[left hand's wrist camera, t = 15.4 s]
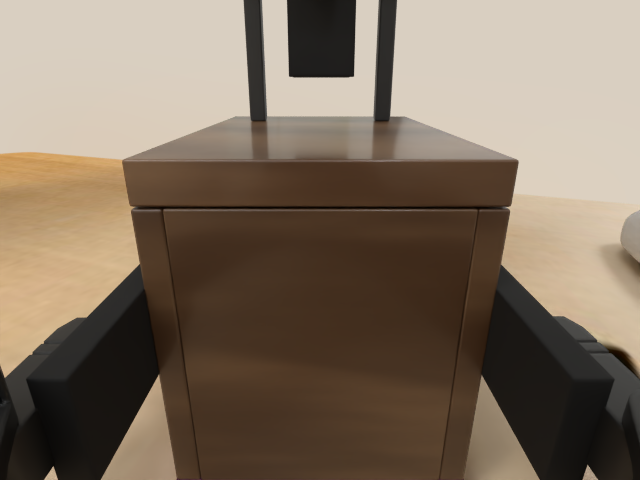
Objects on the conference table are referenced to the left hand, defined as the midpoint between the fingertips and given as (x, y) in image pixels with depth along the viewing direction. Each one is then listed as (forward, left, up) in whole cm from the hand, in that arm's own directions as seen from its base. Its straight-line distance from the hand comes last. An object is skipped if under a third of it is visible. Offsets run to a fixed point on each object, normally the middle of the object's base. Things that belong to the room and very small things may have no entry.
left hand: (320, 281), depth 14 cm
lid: (+3, -2, +4) cm, 5 cm away
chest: (+3, -2, -6) cm, 7 cm away
